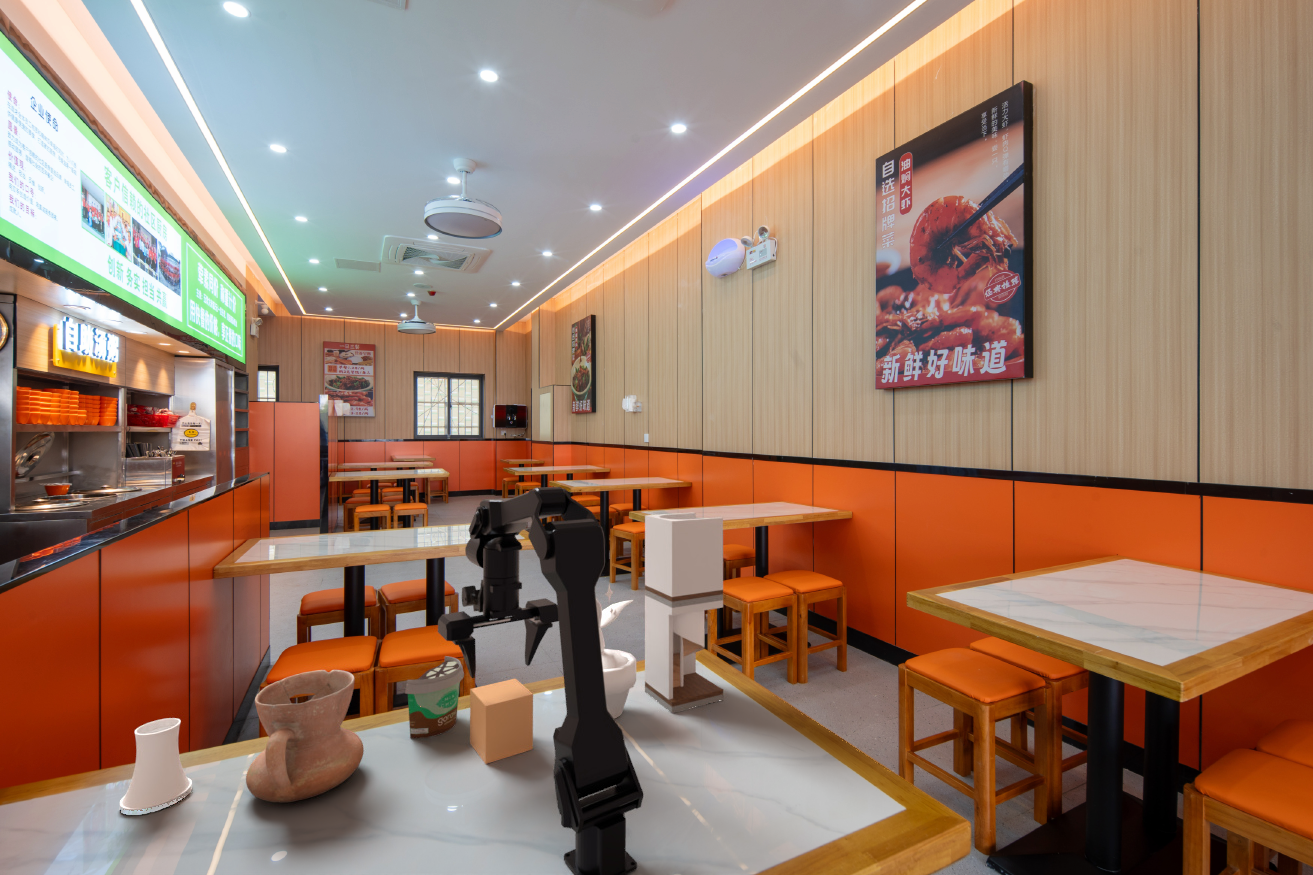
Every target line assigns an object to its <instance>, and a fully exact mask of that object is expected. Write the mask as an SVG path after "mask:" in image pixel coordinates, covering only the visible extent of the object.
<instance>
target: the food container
mask: <svg viewBox="0 0 1313 875" xmlns="http://www.w3.org/2000/svg"><path fill="white" fill-rule="evenodd" d="M463 667H464V666H463V665H462V663H461V660H459V659H458V658H456V657H453V656H446V655H444V662H441V663H440V664H439V665H437V666H435V667H432V668H430V669H428V670H426V671H425V672H424V673H423V674H422V675H421V676H420V677H418V678H417V679H407V680H406V685H405V692H404V694H407V702H408V704H407V705H408V722H409V737H410V739H427V738H431V737H432V738H433V737H436V736H439V735H442V734H444V733H445V734H446V733H447V732H448V731H450V730H451V729H453V728H454V727H455V726H456V724H457V720H458V719H457V717H458V706H459V697H460V696H459V694H460V684H461V683H460V682H461V681H462V680H463V678H464V676H465V673H464V672H465V671H464V669H463ZM420 706H421V707H420Z"/></svg>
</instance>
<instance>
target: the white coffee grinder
mask: <svg viewBox="0 0 1313 875" xmlns="http://www.w3.org/2000/svg"><path fill="white" fill-rule="evenodd" d="M696 515H697V513H696V512H681V513H679V512H678V513H665V514H664V513H663V514H647V515H646V514H645V515H644V529H645V530H644V545H645V546H644V692H645V693H646V694H647V693H648V694H649V695H650V696H649V695H648V694H647V695H648V696H649V697H651V698H652V697H653V698H654V699H655V701H656V700H657V701H656V702H657V703H658V702H659V703H658V704H659V705H661V706H662V707H663V706H664V707H663V708H665V710H667V709H668V710H669V711H668V712H670V713H671V714H674V713H675V714H676V713H678V712H682V711H687V710H690V709H689V708H691V709H693V708H692V707H695V706H699V707H702V706H701V705H703V706H706V704H707V705H709V704H708V703H711V704H714V703H713V702H715V703H718V702H717V701H719V700H722V701H724V689H723V688H721V687H720V686H718V685H717V684H715V683H713V682H712V681H710V680H709V679H707V678H705V677H704V676H702V675H701V674H700V673H697V672H696V670H697V667H696V666H697V664H696V660H697V658H696V656H697V653H698V652H700V651H703V650H705V611H708V610H709V611H710V610H715V609H716V610H717V609H720V608H724V517H718V516H717V517H709V518H708V517H707V518H697V517H696ZM653 698H652V699H653ZM654 699H653V700H654ZM719 702H720V701H719ZM695 708H696V707H695ZM686 709H687V710H686Z"/></svg>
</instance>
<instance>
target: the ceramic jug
mask: <svg viewBox="0 0 1313 875" xmlns="http://www.w3.org/2000/svg"><path fill="white" fill-rule="evenodd" d="M355 680H356V679H355V675H353V674H352V673H351V672H349V671H345V670H341V669H332V670H331V671H329V672H328V671H327V670H325V669H319V670H312V671H305V672H301V673H298V674H293V675H290V676H287V677H285V678H283V679H280V680H278V681H275V682H273V683H271V684H269V685H267V686H265V687H264V688H262V689H261V690H260V691H259V692H258V693H257V694H256V696H255V699H254V703H255V708H256V712H257V715H258V718H259V721H260V723H261V725H262V727H263V729H264V730H265V733H266V734H267V736H268V740H267V742H266V747H265V749H264V750H262V752H260V753H259V754H258V755H257V756H256V757H255V758H254V760H253V761H252V762H251V763H250V765H249V767H248V770H247V773H246V776H245V783H246V787H247V789H248V791H249V792H250V794H251V795H252V796H253V797H255V798H257V799H260V800H262V801H266V802H270V803H290V802H296V801H297V802H298V801H302V800H307V799H309V798H313V797H316V796H319V795H322V794H323V793H326V792H328V791H330V790H332V789H334V788H336V787H338V786H339V785H340V784H342V783H344V782H345V781H346V780H347V779H348V778H349V777H351V775H352V774H354V773H355V771H356V770H357V769H358V767H359V765H360V763H361V762H362V759H363V755H364V752H365V750H364V745H363V744H364V743H363V741H362V739H361V738H360V736H359V735H358V734H357V733H356V732H354V731H352V730H350V729H347V728H344V727H341V726H342V725H343V724H342V723H343V721H344V720H345V717H346V715H347V712H348V709H349V707H350V703H351V701H352V698H353V697H352V696H353V694H354V693H353V692H354V687H355ZM304 694H306V695H307V694H309V695H310V694H314V695H313V696H312V697H311V699H310V700H306V701H305V702H301V703H292V701H291V700H290V699H291V698H292V697H295V696H297V695H304Z"/></svg>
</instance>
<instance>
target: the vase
mask: <svg viewBox="0 0 1313 875" xmlns="http://www.w3.org/2000/svg"><path fill="white" fill-rule="evenodd" d="M181 722H182V721H181V719H180V718H175V717H172V718H171V717H169V718H167V717H166V718H162V719H157V720H154V721H150V722H146V723H144V724H143V725H140V726H138V727H137V728H136V729H134V736H135V746H136V753H135V754H136V755H135V756H136V757H135V764H134V769H133V770H134V771H133V772H132V777H131V780H130V783H129V787H128V788H127V791H126V793H125V795H124V796H123V797H122V798H121V799H120V801H119V808H120V807H121V808H123V810H124V809H125V810H129V811H130V810H131V811H134V810H137V811H138V810H140V811H143V810H142V809H146V808H147V810H148V808H151V809H152V807H156V806H158V807H159V805H162V804H165V803H167V804H168V805H169V803H170V802H171V801H172V802H174V801H173V800H175V799H176V801H178V799H180V798H182V799H183V798H184V799H186V798H187V797H188V796H189V795H190V794H191V792H192V789H193V788H192V786H193V781H192V779H191V778H189V777H187V775H186V772H185V771H184V768H183V765H182V761H181V759H180V758H181V756H180V751H179V735H180V734H179V733H180V726H181ZM189 793H190V794H189ZM188 794H189V795H188ZM187 795H188V796H187ZM182 796H183V797H182ZM184 796H185V797H186V796H187V797H186V798H185V797H184ZM179 797H180V798H179ZM184 799H183V800H184ZM162 806H163V805H162ZM147 810H146V811H147Z"/></svg>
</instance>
